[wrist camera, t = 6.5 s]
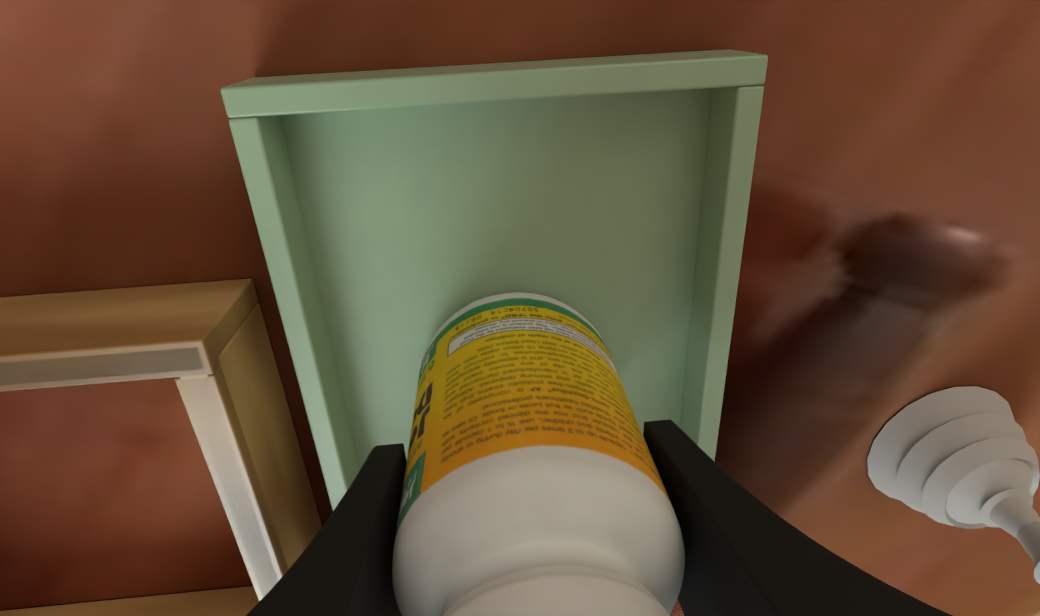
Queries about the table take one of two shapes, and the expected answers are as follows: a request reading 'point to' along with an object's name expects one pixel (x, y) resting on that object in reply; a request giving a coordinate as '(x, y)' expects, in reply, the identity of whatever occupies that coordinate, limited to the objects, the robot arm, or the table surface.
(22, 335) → the brown wooden square frame
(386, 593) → the robot arm
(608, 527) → the supplement bottle
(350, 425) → the tray
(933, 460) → the chalice
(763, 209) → the table surface
